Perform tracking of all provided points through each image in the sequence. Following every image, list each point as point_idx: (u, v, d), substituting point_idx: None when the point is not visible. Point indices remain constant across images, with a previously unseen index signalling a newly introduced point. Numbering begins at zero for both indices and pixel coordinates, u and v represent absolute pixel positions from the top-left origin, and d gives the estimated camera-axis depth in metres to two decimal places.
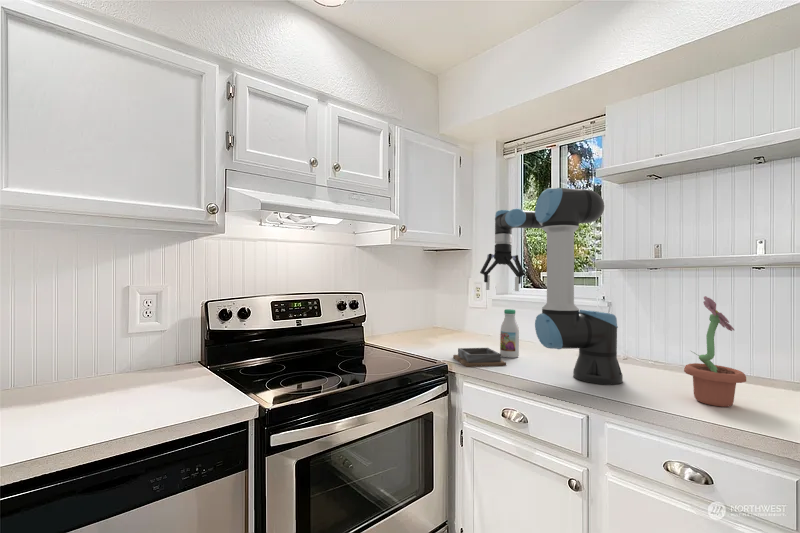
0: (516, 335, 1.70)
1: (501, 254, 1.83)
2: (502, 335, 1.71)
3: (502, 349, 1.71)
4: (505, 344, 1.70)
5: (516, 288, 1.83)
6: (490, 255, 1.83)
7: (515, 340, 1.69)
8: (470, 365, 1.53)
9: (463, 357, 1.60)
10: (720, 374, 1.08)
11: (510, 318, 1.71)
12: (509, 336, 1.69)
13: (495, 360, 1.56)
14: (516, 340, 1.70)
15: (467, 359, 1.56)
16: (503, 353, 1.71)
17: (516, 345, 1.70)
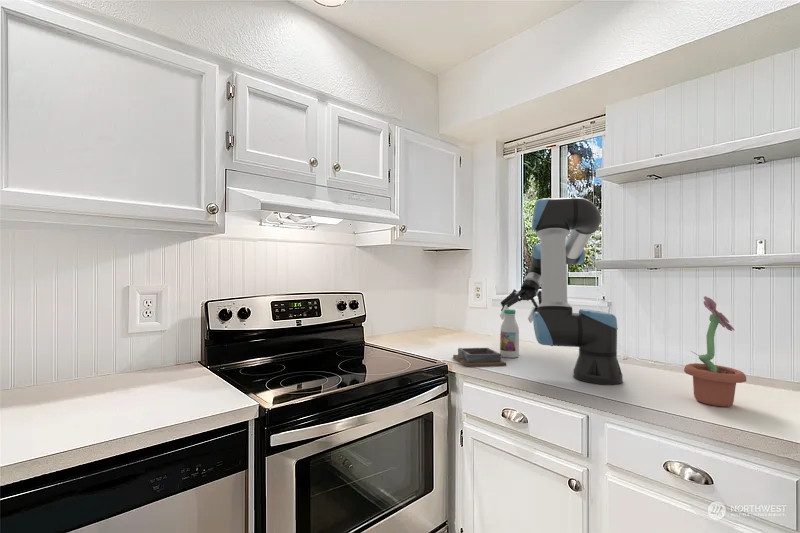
0: (516, 335, 1.70)
1: (525, 290, 1.86)
2: (502, 335, 1.71)
3: (502, 349, 1.71)
4: (505, 344, 1.70)
5: (529, 317, 1.73)
6: (514, 290, 1.89)
7: (515, 340, 1.69)
8: (470, 365, 1.53)
9: (463, 357, 1.60)
10: (720, 374, 1.08)
11: (510, 318, 1.71)
12: (509, 336, 1.69)
13: (495, 360, 1.56)
14: (516, 340, 1.70)
15: (467, 359, 1.56)
16: (503, 353, 1.71)
17: (516, 345, 1.70)
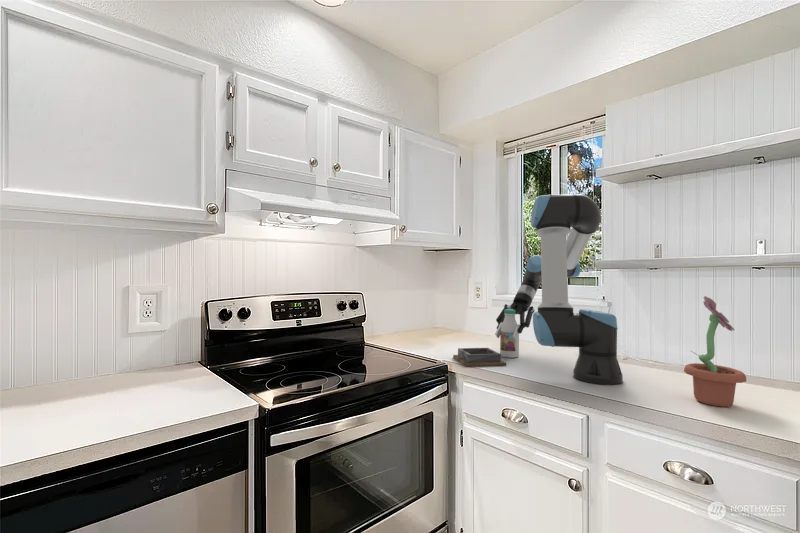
0: None
1: (517, 302, 1.80)
2: (502, 335, 1.71)
3: (502, 349, 1.71)
4: (506, 344, 1.70)
5: None
6: (505, 305, 1.82)
7: (515, 340, 1.69)
8: (470, 365, 1.53)
9: (463, 357, 1.60)
10: (720, 374, 1.08)
11: (510, 318, 1.71)
12: (509, 336, 1.69)
13: (495, 360, 1.56)
14: (516, 340, 1.70)
15: (467, 359, 1.56)
16: (503, 353, 1.71)
17: (516, 345, 1.70)
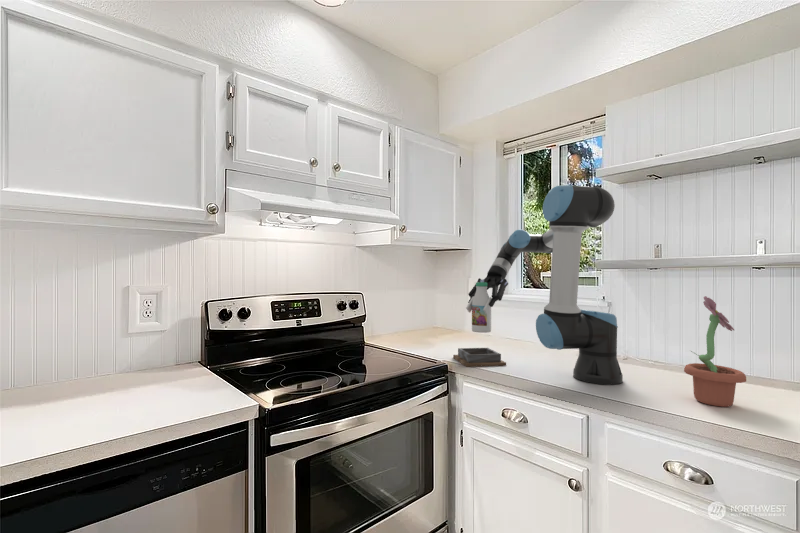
0: None
1: (490, 276, 1.71)
2: (473, 309, 1.62)
3: (473, 324, 1.62)
4: (477, 318, 1.61)
5: None
6: (479, 279, 1.73)
7: (486, 314, 1.60)
8: (470, 365, 1.53)
9: (463, 357, 1.60)
10: (720, 374, 1.08)
11: (481, 291, 1.62)
12: (480, 310, 1.60)
13: (495, 360, 1.56)
14: (488, 314, 1.60)
15: (467, 359, 1.56)
16: (474, 328, 1.61)
17: (488, 319, 1.60)
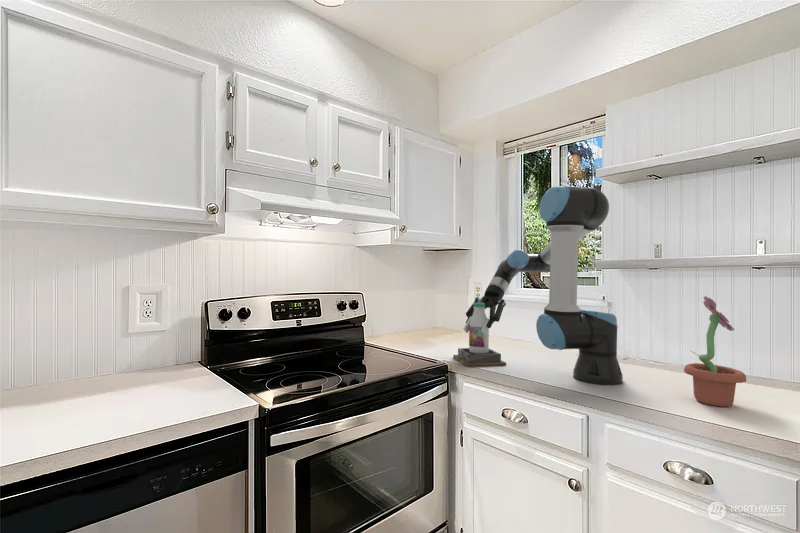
0: None
1: (488, 295, 1.70)
2: (471, 330, 1.61)
3: (471, 345, 1.60)
4: (474, 339, 1.59)
5: None
6: (476, 298, 1.72)
7: None
8: (470, 365, 1.53)
9: (463, 357, 1.60)
10: (720, 374, 1.08)
11: (479, 312, 1.60)
12: (478, 331, 1.59)
13: (495, 360, 1.56)
14: (485, 335, 1.59)
15: (467, 359, 1.56)
16: (472, 349, 1.60)
17: (485, 340, 1.59)
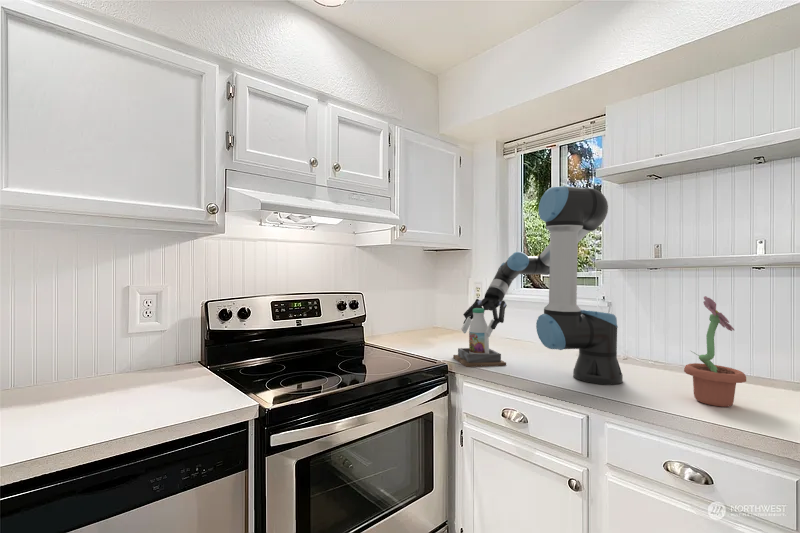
0: (485, 336, 1.59)
1: (488, 298, 1.69)
2: (470, 336, 1.60)
3: (471, 351, 1.60)
4: (474, 345, 1.59)
5: None
6: (476, 300, 1.72)
7: (484, 341, 1.58)
8: (470, 365, 1.53)
9: (463, 357, 1.60)
10: (720, 374, 1.08)
11: (478, 318, 1.60)
12: (478, 337, 1.58)
13: (495, 360, 1.56)
14: (485, 341, 1.59)
15: (467, 359, 1.56)
16: None
17: (485, 346, 1.59)
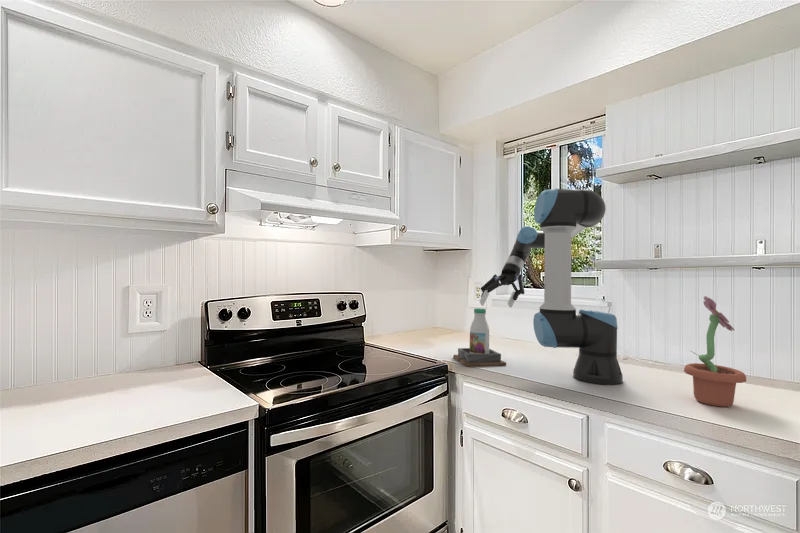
0: (486, 336, 1.59)
1: (505, 274, 1.78)
2: (471, 336, 1.60)
3: (471, 351, 1.60)
4: (475, 346, 1.59)
5: None
6: (494, 275, 1.81)
7: (484, 341, 1.58)
8: (470, 365, 1.53)
9: (463, 357, 1.60)
10: (720, 374, 1.08)
11: (479, 318, 1.60)
12: (478, 337, 1.58)
13: (495, 360, 1.56)
14: (486, 341, 1.59)
15: (467, 359, 1.56)
16: None
17: (486, 347, 1.59)
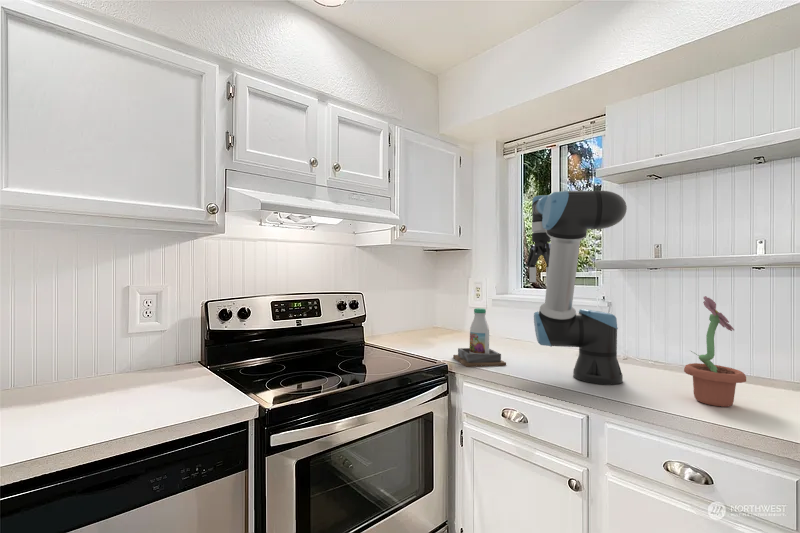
0: (486, 336, 1.59)
1: (537, 244, 1.72)
2: (471, 336, 1.60)
3: (471, 351, 1.60)
4: (475, 346, 1.59)
5: None
6: (531, 246, 1.77)
7: (484, 341, 1.58)
8: (470, 365, 1.53)
9: (463, 357, 1.60)
10: (720, 374, 1.08)
11: (479, 318, 1.60)
12: (478, 337, 1.58)
13: (495, 360, 1.56)
14: (486, 341, 1.59)
15: (467, 359, 1.56)
16: None
17: (486, 347, 1.59)
